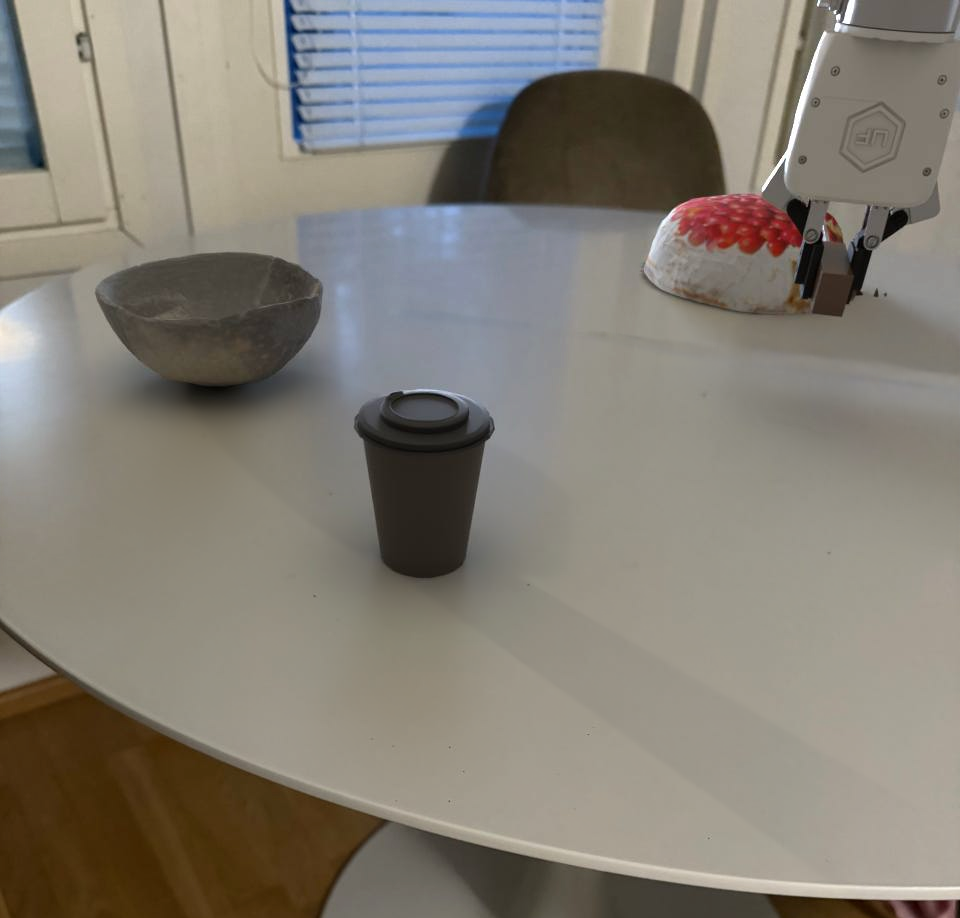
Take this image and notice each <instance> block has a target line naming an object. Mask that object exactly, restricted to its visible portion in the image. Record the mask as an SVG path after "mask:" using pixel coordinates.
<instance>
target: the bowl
mask: <svg viewBox="0 0 960 918" xmlns="http://www.w3.org/2000/svg"><path fill="white" fill-rule="evenodd" d="M323 293H324V284H323V282H322V281H321V280H320V279H319V278H317V277H316V276H314V275H312V274H311V272H310V271H309V270H307V269H306V268H305V267H304V266H302V265H300V264H298V263H294V262H292V261H288V260H286V259H284V258H282V257H278V256H274V255H270V254H263V253H256V252H243V251H220V252H219V251H218V252H203V253H202V252H201V253H194V254H188V255H183V256H177V257H169V258H163V259H157V260H152V261H148V262H143V263H141V264H138V265H137V264H136V265H134V266H131V267H128V268H125V269H121V270H119V271H116V272H115V273H112V274H110V275H108V276H107V277H105V278H104V279H103V278H102V280H101V281H100V282H99V283H98V285H97V286H96V287H95V290H94V295H95V299H96V302H97V303H98V305H99V307H100V309H101V311H102V313H103V315H104V318H105V320H106V321H107V322H108V324H109V326H110V327H111V329H112V331H113V332H114V333H115V335H116V336H117V338H118V339H119V341H120V342H121V343H122V344H123V345H124V347H125V348H126V349H127V351H129V352H130V353H131V355H133V356H134V357H135V358H136V359H137V360H138V361H139V362H140V363H142V364H143V365H144V366H146V367H148V368H149V369H150V370H152V371H153V372H154V373H156V374H158V375H160V376H161V377H162V378H164V379H165V380H169V381H171V382H179V383H186V384H192V385H198V386H203V387H204V386H205V387H231V386H238V385H245V384H249V383H255V382H260V381H264V380H266V379H268V378H271V377H272V376H273V375H275V374H277V372H279V371H280V370H281V369H283V368H284V367H285V366H286V365H287V364H288V363H289V362H291V361H292V359H293V358H295V357H296V356H297V355H298V353H300V351H301V350H302V349H303V348H304V346H306V343H307V342H308V341H309V340H310V338H311V337H312V335H313V333H314V331H315V329H316V328H317V325H318V323H319V320H320V318H321V312H322V304H323V303H322V301H323Z"/></svg>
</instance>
